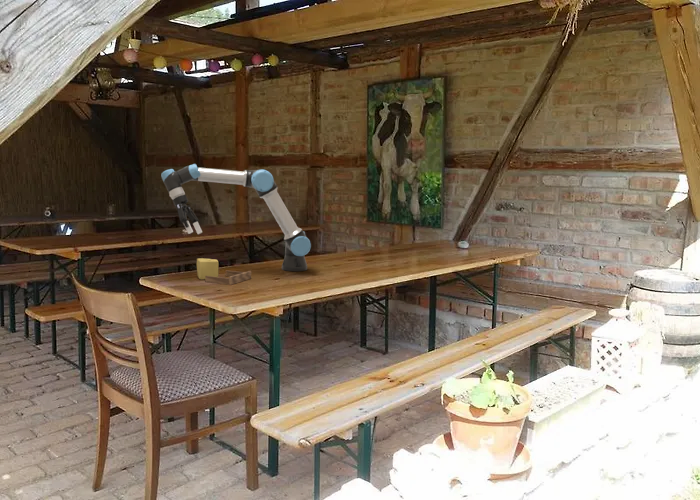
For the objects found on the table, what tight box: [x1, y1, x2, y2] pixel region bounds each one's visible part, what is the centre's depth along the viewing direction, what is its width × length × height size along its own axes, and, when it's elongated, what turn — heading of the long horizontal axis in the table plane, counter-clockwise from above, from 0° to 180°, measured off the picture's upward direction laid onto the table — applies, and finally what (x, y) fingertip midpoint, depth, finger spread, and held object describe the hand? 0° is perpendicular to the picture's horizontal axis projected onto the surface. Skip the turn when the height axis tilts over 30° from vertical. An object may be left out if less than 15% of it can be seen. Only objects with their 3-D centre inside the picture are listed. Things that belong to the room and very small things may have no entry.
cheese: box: [196, 257, 219, 280], centre depth 328 cm, size 10×11×10 cm
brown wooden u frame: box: [204, 270, 252, 286], centre depth 324 cm, size 20×15×4 cm
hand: (195, 233), depth 325 cm, fingers open, 13 cm apart
